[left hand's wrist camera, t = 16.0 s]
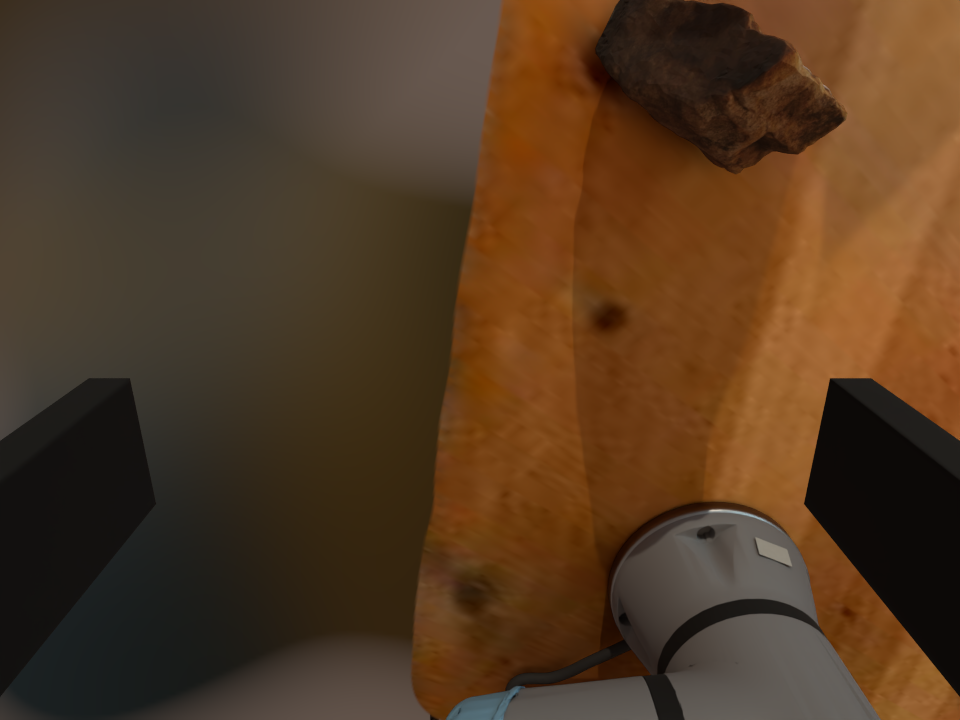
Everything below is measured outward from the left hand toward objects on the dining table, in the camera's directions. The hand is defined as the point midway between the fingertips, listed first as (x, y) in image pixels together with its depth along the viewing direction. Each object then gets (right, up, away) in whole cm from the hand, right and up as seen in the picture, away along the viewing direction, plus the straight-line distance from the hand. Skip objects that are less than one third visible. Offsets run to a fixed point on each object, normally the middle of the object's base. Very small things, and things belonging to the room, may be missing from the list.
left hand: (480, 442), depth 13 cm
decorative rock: (+12, +18, +27) cm, 35 cm away
